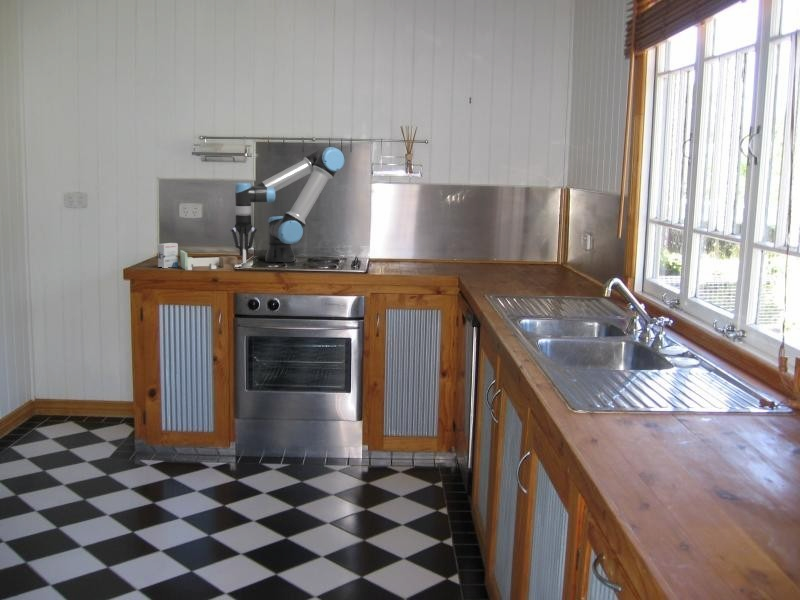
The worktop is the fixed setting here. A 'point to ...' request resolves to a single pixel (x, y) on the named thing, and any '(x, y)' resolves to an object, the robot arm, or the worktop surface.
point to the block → (227, 261)
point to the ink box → (168, 255)
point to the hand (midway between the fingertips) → (244, 262)
